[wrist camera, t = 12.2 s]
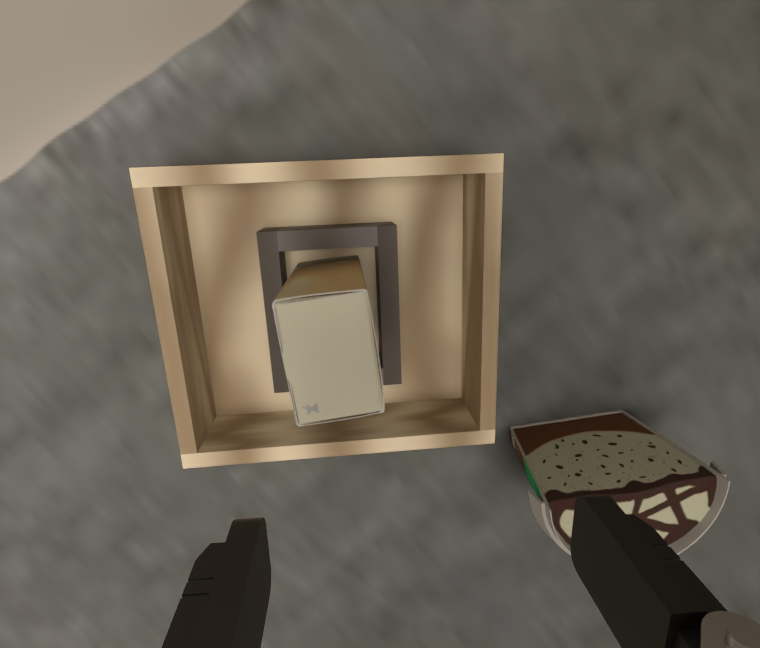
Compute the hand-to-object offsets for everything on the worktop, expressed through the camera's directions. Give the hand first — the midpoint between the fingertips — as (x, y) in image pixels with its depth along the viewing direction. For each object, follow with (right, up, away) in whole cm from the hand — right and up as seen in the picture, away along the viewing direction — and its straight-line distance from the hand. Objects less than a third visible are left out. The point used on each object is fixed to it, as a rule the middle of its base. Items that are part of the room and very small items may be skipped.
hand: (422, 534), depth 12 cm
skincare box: (-4, +7, +21) cm, 23 cm away
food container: (+14, -5, +27) cm, 31 cm away
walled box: (-4, +7, +22) cm, 23 cm away
